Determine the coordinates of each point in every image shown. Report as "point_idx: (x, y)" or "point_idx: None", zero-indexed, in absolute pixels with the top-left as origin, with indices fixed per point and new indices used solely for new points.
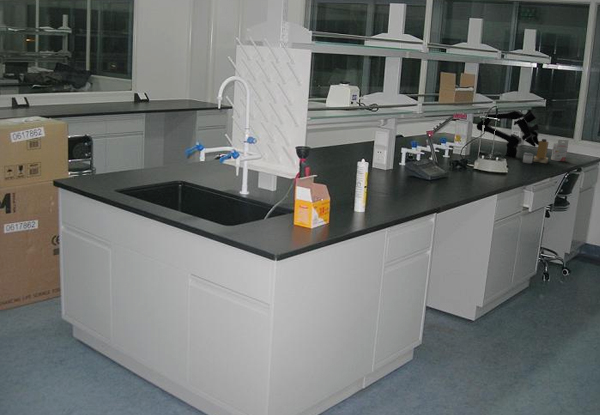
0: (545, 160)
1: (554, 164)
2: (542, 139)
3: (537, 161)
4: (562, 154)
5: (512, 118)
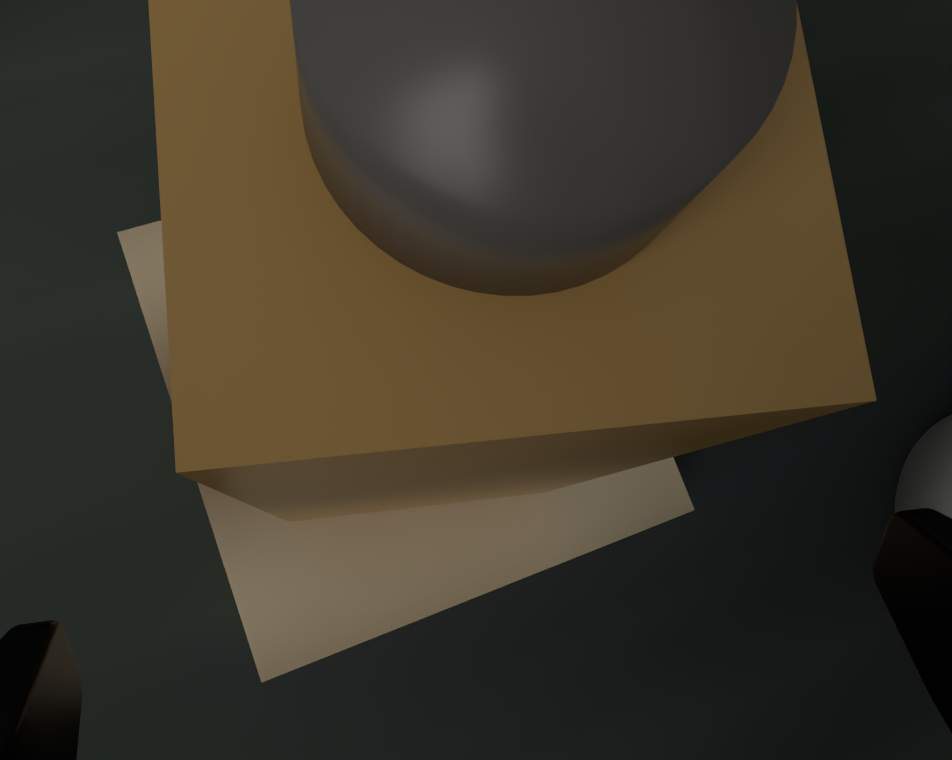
0: None
1: None
2: (767, 105)
3: None
4: None
5: None
